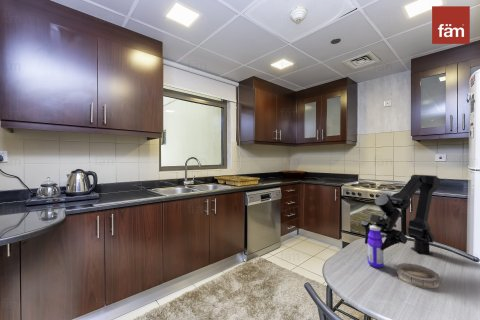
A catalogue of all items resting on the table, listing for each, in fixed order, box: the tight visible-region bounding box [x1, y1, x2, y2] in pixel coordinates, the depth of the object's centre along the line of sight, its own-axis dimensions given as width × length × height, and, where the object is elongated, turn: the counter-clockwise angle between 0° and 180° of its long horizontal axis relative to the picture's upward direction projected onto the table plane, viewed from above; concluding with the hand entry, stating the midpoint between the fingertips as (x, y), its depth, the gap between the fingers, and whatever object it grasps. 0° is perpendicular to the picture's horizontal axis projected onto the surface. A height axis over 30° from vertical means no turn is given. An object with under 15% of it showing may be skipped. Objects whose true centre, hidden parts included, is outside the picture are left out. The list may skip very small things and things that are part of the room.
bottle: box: [366, 224, 385, 269], centre depth 98 cm, size 7×6×17 cm
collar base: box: [396, 262, 440, 290], centre depth 87 cm, size 13×13×3 cm
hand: (373, 246), depth 98 cm, fingers closed on bottle, 7 cm apart
